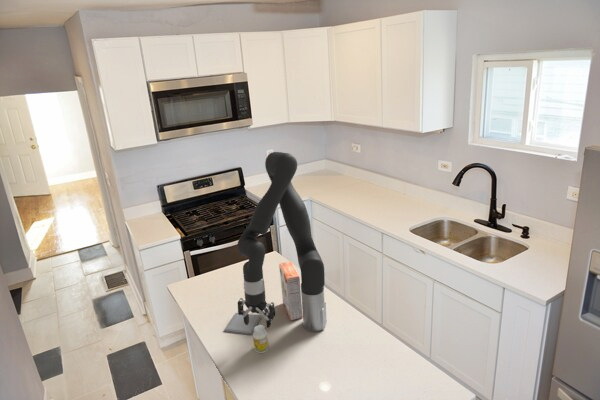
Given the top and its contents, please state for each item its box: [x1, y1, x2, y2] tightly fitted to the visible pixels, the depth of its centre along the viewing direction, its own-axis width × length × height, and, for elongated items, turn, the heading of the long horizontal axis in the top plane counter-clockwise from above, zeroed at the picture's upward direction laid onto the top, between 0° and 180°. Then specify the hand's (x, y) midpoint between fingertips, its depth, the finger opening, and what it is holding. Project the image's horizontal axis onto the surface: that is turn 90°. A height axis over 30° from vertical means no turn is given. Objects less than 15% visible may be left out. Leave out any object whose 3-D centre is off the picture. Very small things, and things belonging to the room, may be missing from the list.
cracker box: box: [278, 261, 303, 321], centre depth 178 cm, size 14×6×21 cm, turn 15°
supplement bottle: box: [252, 324, 269, 354], centre depth 158 cm, size 5×5×10 cm
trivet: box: [223, 312, 262, 336], centre depth 175 cm, size 12×12×1 cm
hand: (257, 325), depth 156 cm, fingers open, 8 cm apart
